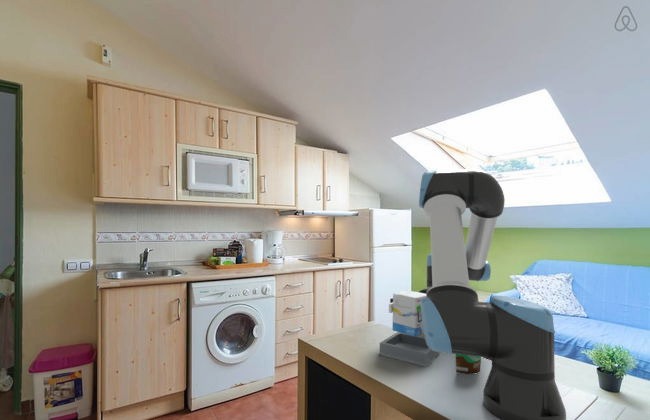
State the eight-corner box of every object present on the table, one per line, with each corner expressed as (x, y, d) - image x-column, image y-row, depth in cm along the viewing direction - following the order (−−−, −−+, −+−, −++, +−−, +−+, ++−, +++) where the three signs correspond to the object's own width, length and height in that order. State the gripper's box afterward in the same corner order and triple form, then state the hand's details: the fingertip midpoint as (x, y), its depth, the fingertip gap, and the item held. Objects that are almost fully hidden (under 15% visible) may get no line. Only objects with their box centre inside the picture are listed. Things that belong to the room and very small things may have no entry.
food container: (479, 380, 84) (479, 340, 84) (454, 374, 87) (454, 335, 88) (489, 365, 94) (488, 330, 94) (466, 360, 97) (466, 325, 98)
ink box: (415, 337, 96) (415, 297, 97) (391, 330, 103) (391, 292, 103) (430, 331, 102) (430, 294, 103) (407, 325, 108) (407, 289, 109)
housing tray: (426, 366, 92) (426, 354, 92) (379, 354, 100) (379, 342, 100) (440, 351, 103) (440, 340, 104) (397, 342, 112) (397, 331, 112)
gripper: (461, 314, 111) (443, 331, 93) (399, 304, 124) (372, 317, 105) (461, 292, 111) (443, 304, 93) (399, 284, 124) (372, 293, 106)
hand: (405, 311), depth 99 cm, fingers closed on ink box, 10 cm apart
